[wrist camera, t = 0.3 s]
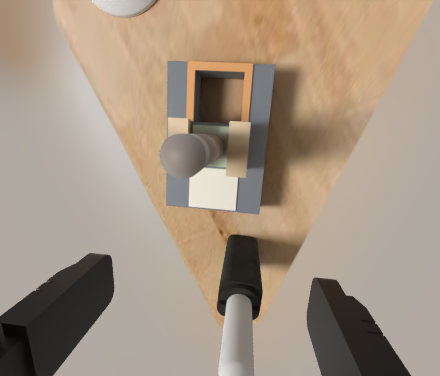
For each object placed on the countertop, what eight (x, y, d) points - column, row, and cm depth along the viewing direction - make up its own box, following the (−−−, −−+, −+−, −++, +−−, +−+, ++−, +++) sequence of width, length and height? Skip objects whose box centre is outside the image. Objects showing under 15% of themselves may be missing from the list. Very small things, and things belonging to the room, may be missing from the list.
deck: (176, 69, 34) (167, 60, 30) (271, 72, 33) (275, 64, 29) (174, 198, 39) (165, 205, 35) (257, 206, 38) (259, 214, 34)
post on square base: (198, 125, 32) (144, 115, 15) (234, 127, 31) (221, 119, 15) (197, 161, 33) (145, 190, 16) (232, 164, 33) (216, 196, 16)
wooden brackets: (184, 121, 32) (168, 117, 25) (249, 124, 31) (250, 122, 24) (183, 164, 33) (167, 171, 27) (245, 168, 33) (245, 177, 26)
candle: (254, 264, 40) (266, 462, 16) (225, 260, 41) (193, 446, 16) (258, 237, 39) (278, 407, 15) (228, 233, 39) (199, 391, 15)
